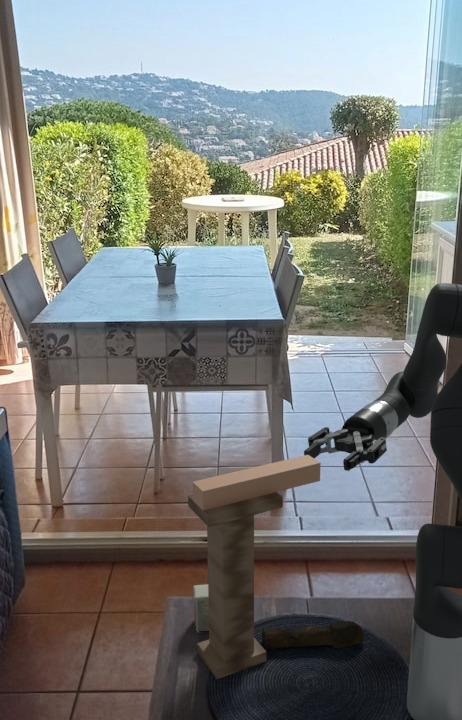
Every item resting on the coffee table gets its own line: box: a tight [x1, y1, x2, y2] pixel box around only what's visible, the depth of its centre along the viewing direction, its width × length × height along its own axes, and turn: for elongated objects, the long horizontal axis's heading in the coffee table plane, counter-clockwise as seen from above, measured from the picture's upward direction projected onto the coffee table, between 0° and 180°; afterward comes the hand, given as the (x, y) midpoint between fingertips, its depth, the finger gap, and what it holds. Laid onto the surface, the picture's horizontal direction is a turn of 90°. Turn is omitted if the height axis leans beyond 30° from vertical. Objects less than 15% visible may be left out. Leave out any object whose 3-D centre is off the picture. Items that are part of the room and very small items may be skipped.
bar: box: [191, 455, 322, 511], centre depth 126 cm, size 23×4×4 cm, turn 118°
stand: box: [187, 492, 284, 680], centre depth 129 cm, size 14×8×32 cm, turn 118°
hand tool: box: [261, 620, 365, 652], centre depth 135 cm, size 19×4×5 cm, turn 90°
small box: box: [193, 583, 209, 632], centre depth 141 cm, size 5×4×8 cm
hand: (325, 461), depth 132 cm, fingers open, 8 cm apart
